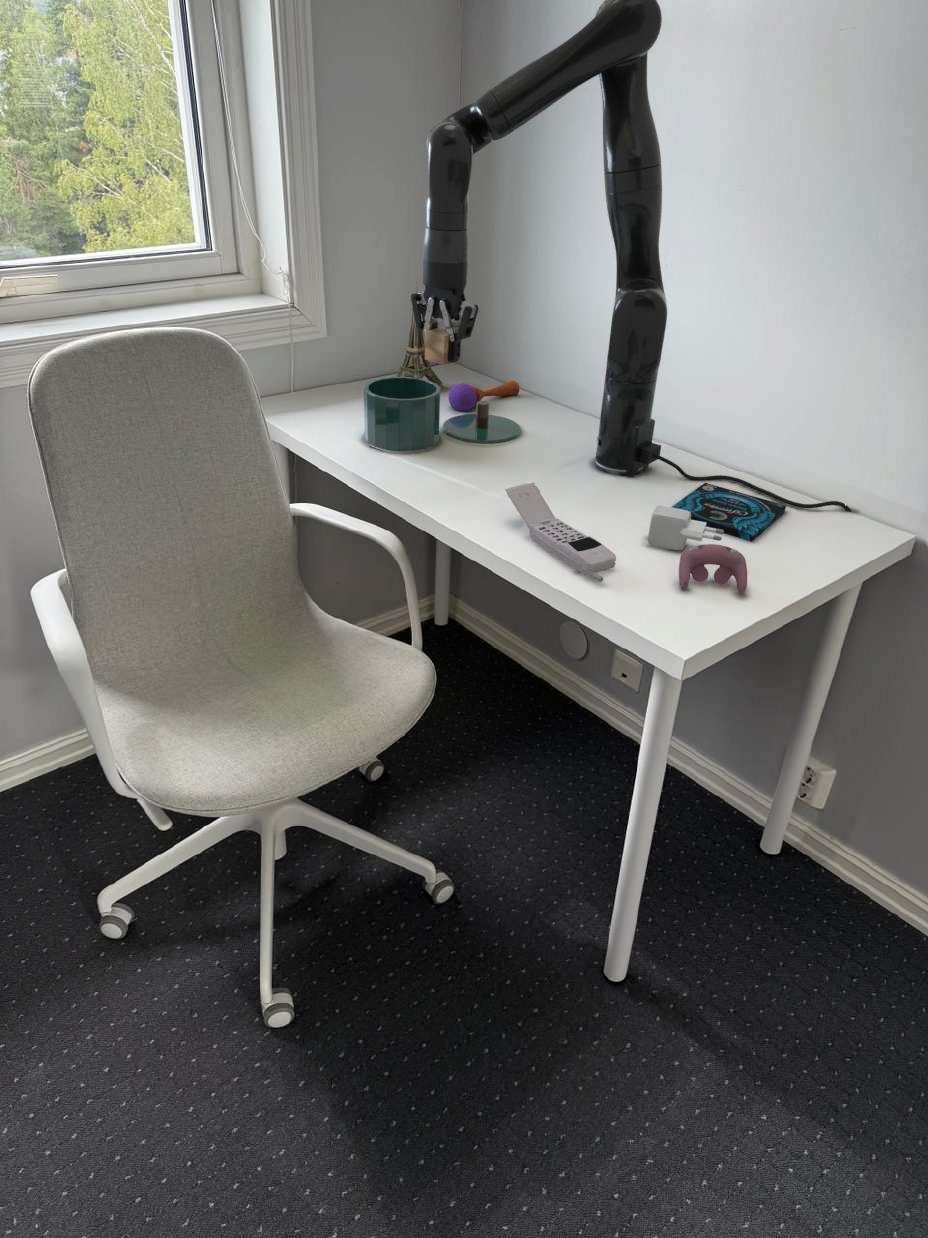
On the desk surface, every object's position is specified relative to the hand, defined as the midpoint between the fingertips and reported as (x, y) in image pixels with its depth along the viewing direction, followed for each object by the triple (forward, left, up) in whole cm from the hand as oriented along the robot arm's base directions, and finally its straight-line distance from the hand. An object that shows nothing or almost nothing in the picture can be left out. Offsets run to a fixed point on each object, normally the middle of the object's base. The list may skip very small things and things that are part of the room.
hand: (442, 357), depth 162 cm
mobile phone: (-37, +13, -20) cm, 44 cm away
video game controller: (-60, +7, -20) cm, 64 cm away
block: (0, 0, 0) cm, 0 cm away
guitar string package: (-50, -18, -20) cm, 57 cm away
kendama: (+16, -32, -20) cm, 41 cm away
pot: (+13, -3, -20) cm, 24 cm away
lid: (+5, -18, -19) cm, 27 cm away
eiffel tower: (+33, -28, -20) cm, 48 cm away
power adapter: (-51, -1, -20) cm, 55 cm away
